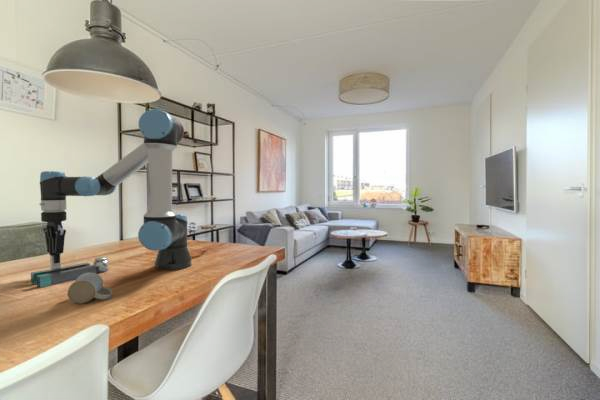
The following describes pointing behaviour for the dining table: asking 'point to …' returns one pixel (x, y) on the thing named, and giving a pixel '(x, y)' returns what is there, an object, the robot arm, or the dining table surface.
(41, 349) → the dining table surface
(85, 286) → the ceramic mug
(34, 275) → the tong swing arm
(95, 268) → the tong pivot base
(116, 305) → the dining table surface
